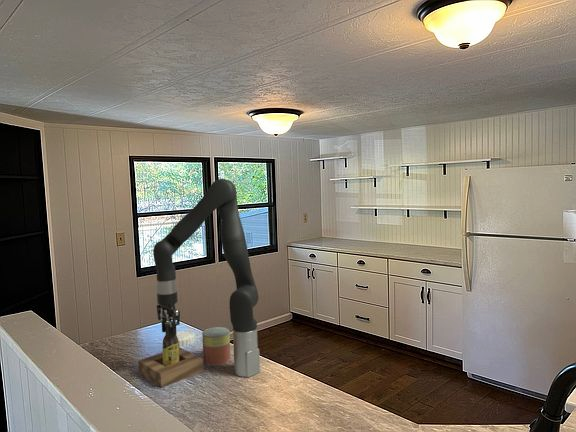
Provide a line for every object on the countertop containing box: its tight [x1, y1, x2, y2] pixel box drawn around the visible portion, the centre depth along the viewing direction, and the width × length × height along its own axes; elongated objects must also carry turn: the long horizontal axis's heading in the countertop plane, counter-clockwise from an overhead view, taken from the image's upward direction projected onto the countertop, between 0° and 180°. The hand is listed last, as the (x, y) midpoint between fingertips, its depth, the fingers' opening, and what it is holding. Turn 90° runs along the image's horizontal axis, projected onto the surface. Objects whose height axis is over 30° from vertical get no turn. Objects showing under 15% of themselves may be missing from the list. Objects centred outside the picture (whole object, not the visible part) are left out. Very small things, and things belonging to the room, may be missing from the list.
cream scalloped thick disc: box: [176, 330, 196, 348], centre depth 199 cm, size 12×12×4 cm
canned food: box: [201, 326, 231, 367], centre depth 178 cm, size 11×11×12 cm
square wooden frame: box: [137, 347, 204, 388], centre depth 167 cm, size 18×18×5 cm
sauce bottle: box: [162, 321, 179, 367], centre depth 166 cm, size 6×6×20 cm
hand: (169, 333), depth 166 cm, fingers open, 6 cm apart
